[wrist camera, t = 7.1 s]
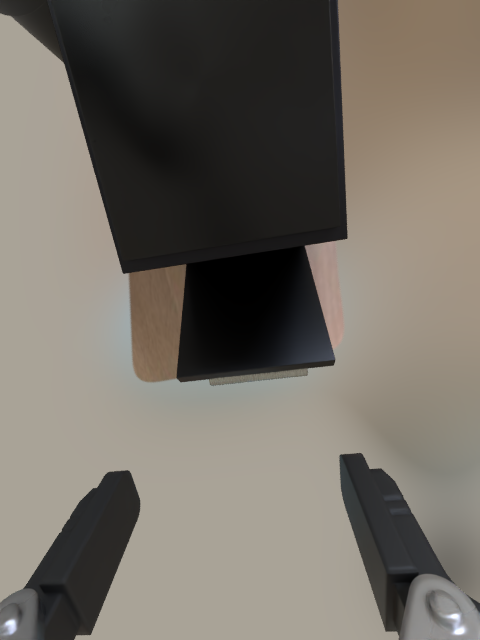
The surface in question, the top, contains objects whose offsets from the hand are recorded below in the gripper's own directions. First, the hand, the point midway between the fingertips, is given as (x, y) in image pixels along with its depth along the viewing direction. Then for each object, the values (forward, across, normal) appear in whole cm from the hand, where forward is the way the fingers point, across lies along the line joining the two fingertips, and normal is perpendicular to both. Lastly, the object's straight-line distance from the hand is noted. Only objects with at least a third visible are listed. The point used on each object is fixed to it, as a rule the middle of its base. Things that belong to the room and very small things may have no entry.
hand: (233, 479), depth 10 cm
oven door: (+24, -1, -5) cm, 24 cm away
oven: (+26, 0, -15) cm, 30 cm away
